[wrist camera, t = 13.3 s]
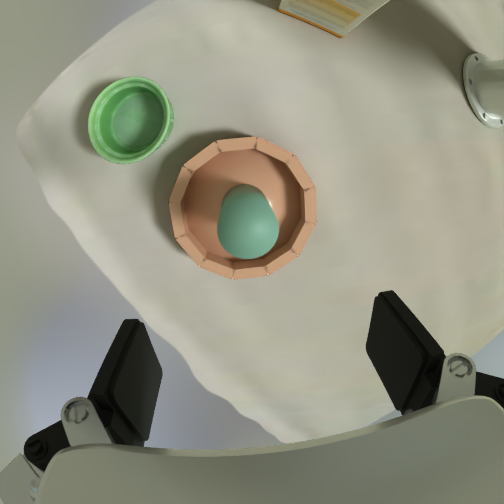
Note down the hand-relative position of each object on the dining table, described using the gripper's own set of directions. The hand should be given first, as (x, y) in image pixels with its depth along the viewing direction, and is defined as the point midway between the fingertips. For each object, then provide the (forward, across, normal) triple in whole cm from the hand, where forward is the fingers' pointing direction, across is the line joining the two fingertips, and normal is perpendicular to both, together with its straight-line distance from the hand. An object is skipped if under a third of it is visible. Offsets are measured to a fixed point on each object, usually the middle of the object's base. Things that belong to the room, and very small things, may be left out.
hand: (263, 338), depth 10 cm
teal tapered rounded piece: (+21, 0, 0) cm, 21 cm away
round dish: (+22, 0, 0) cm, 22 cm away
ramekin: (+22, +11, -11) cm, 27 cm away
